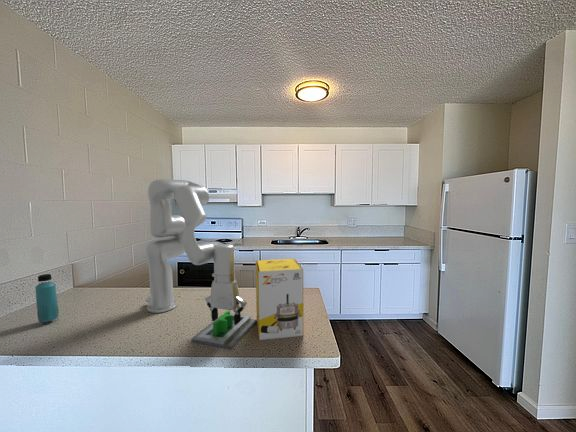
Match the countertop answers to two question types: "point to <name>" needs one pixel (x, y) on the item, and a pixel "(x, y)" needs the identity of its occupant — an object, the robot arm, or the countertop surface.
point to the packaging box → (279, 298)
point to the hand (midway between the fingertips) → (225, 321)
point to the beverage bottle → (46, 299)
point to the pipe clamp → (223, 323)
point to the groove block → (225, 338)
